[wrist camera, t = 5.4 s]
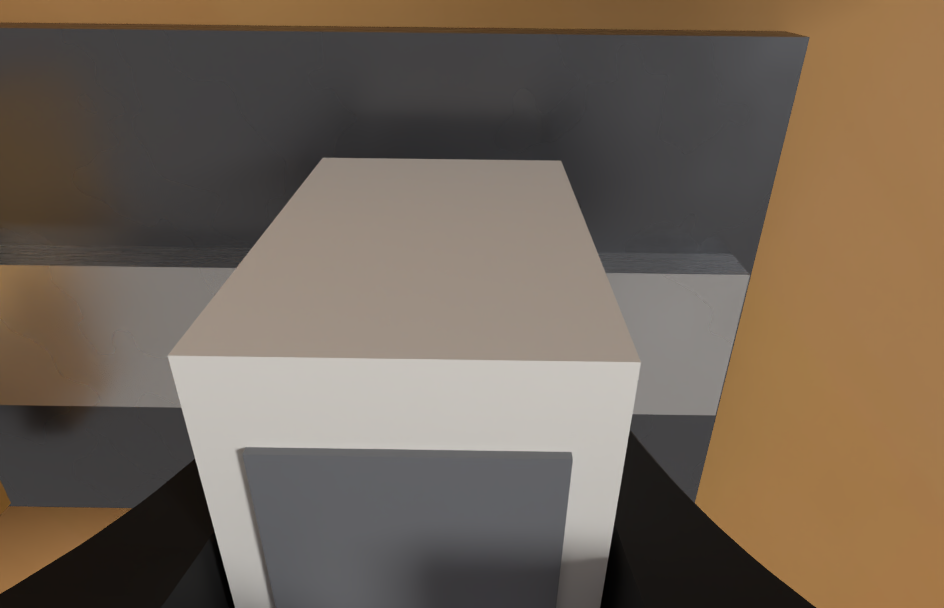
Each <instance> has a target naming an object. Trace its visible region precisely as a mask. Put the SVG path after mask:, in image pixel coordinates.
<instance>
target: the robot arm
mask: <svg viewBox="0 0 944 608" xmlns="http://www.w3.org/2000/svg"><path fill="white" fill-rule="evenodd" d="M0 608H235V606H234V602H233V598H232V594H231V591H230V587H229V583H228V580H227V576H226V572H225V568H224V565H223V561H222V557H221V553H220V550H219V546H218V542H217V539H216V535H215V531H214V527H213V524H212V520H211V516H210V512H209V509H208V505H207V501H206V497H205V494H204V490H203V486H202V483H201V479H200V475H199V471H198V468H197V464H196V460H195V459H194V460H193V461H191V462H190V463H189V464H188V465H187V466H185V467H184V468H183V469H182V470H181V471H179V472H178V473H177V474H176V475H175V476H173V477H172V478H171V479H170V480H168V481H167V482H166V483H165V484H164V485H162V486H161V487H160V488H159V489H158V490H156V491H155V492H154V493H152V494H151V495H150V496H149V497H147V498H146V499H145V500H143V501H142V502H141V503H139V504H138V505H137V506H135V507H134V508H133V509H131V510H130V511H129V512H127V513H126V514H124V515H123V516H122V517H120V518H119V519H117V520H116V521H114V522H113V523H112V524H110V525H109V526H107V527H106V528H104V529H103V530H102V531H100V532H99V533H97V534H96V535H94V536H93V537H91V538H90V539H88V540H87V541H85V542H84V543H82V544H81V545H79V546H78V547H76V548H75V549H73V550H71V551H70V552H68V553H66V554H65V555H63V556H62V557H60V558H58V559H57V560H55V561H54V562H52V563H50V564H49V565H47V566H45V567H44V568H42V569H41V570H39V571H37V572H36V573H34V574H33V575H31V576H29V577H28V578H26V579H24V580H23V581H21V582H20V583H18V584H16V585H15V586H13V587H11V588H10V589H8V590H6V591H5V592H3V593H1V594H0ZM600 608H816V607H815V606H813V605H812V604H811V603H809V602H808V601H807V600H805V599H804V598H803V597H802V596H800V595H799V594H798V593H796V592H795V591H794V590H793V589H791V588H790V587H789V586H788V585H786V584H785V583H784V582H782V581H781V580H780V579H779V578H777V577H776V576H775V575H773V574H772V573H771V572H770V571H768V570H767V569H766V568H765V567H764V566H762V565H761V564H760V563H759V562H758V561H756V560H755V559H754V558H753V557H752V556H750V555H749V554H748V553H747V552H746V551H745V550H744V549H743V548H741V547H740V546H739V545H738V544H737V543H736V542H735V541H734V540H733V539H731V538H730V537H729V536H728V535H727V534H726V533H725V532H724V531H723V530H722V529H720V528H719V527H718V526H717V525H716V524H715V523H714V522H713V521H712V520H711V519H710V518H709V517H708V516H707V515H706V514H705V513H704V512H703V511H702V510H701V509H700V508H699V507H698V506H697V505H696V504H695V503H694V502H693V501H692V500H691V499H690V498H689V497H688V496H687V495H686V493H685V492H684V491H683V490H682V489H681V488H680V487H679V486H678V485H677V484H676V483H675V482H674V481H673V479H672V478H671V477H670V476H669V475H668V474H667V473H666V472H665V471H664V469H663V468H662V467H661V466H660V465H659V464H658V462H657V461H656V460H655V459H654V458H653V456H652V455H651V454H650V453H649V452H648V451H647V449H646V448H645V447H644V446H643V445H642V443H641V442H640V441H639V440H638V438H637V437H636V436H635V435H634V433H633V432H632V431H631V430H630V431H629V437H628V443H627V449H626V455H625V461H624V467H623V473H622V479H621V485H620V491H619V497H618V503H617V509H616V515H615V521H614V527H613V533H612V539H611V545H610V551H609V557H608V563H607V569H606V575H605V581H604V587H603V593H602V599H601V605H600Z"/></svg>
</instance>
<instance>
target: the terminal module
mask: <svg viewBox="0 0 944 608" xmlns="http://www.w3.org/2000/svg"><path fill="white" fill-rule="evenodd" d="M168 359H169V363H170V367H171V371H172V374H173V378H174V382H175V385H176V389H177V393H178V397H179V400H180V404H181V408H182V412H183V415H184V419H185V423H186V427H187V430H188V434H189V438H190V441H191V445H192V449H193V453H194V456H195V460H196V464H197V468H198V471H199V475H200V479H201V483H202V486H203V490H204V494H205V497H206V501H207V505H208V509H209V512H210V516H211V520H212V524H213V527H214V531H215V535H216V539H217V542H218V546H219V550H220V553H221V557H222V561H223V565H224V568H225V572H226V576H227V580H228V583H229V587H230V591H231V594H232V598H233V602H234V606H235V608H600V605H601V599H602V593H603V587H604V581H605V575H606V569H607V563H608V557H609V551H610V545H611V539H612V533H613V527H614V521H615V515H616V509H617V503H618V497H619V491H620V485H621V479H622V473H623V467H624V461H625V455H626V449H627V443H628V437H629V431H630V425H631V419H632V413H633V407H634V401H635V395H636V389H637V383H638V377H639V371H640V365H641V361H640V359H639V356H638V353H637V351H636V348H635V346H634V343H633V341H632V338H631V336H630V333H629V331H628V328H627V326H626V323H625V321H624V318H623V316H622V313H621V311H620V308H619V306H618V303H617V300H616V298H615V295H614V293H613V290H612V288H611V285H610V283H609V280H608V278H607V275H606V273H605V270H604V268H603V265H602V263H601V260H600V258H599V255H598V253H597V250H596V248H595V245H594V242H593V240H592V237H591V235H590V232H589V230H588V227H587V225H586V222H585V220H584V217H583V215H582V212H581V210H580V207H579V205H578V202H577V200H576V197H575V195H574V192H573V190H572V187H571V184H570V182H569V179H568V177H567V174H566V172H565V169H564V167H563V164H562V162H561V161H551V160H469V159H387V158H322V159H321V161H320V162H319V163H318V164H317V166H316V167H315V168H314V170H313V171H312V172H311V173H310V175H309V176H308V177H307V178H306V180H305V181H304V182H303V184H302V185H301V186H300V187H299V189H298V190H297V191H296V192H295V194H294V195H293V196H292V198H291V199H290V200H289V201H288V203H287V204H286V205H285V207H284V208H283V209H282V210H281V212H280V213H279V214H278V215H277V217H276V218H275V219H274V221H273V222H272V223H271V224H270V226H269V227H268V228H267V229H266V231H265V232H264V233H263V235H262V236H261V237H260V238H259V240H258V241H257V242H256V243H255V245H254V246H253V247H252V249H251V250H250V251H249V252H248V254H247V255H246V256H245V258H244V259H243V260H242V261H241V263H240V264H239V265H238V266H237V268H236V269H235V270H234V272H233V273H232V274H231V275H230V277H229V278H228V279H227V280H226V282H225V283H224V284H223V286H222V287H221V288H220V289H219V291H218V292H217V293H216V294H215V296H214V297H213V298H212V300H211V301H210V302H209V303H208V305H207V306H206V307H205V308H204V310H203V311H202V312H201V314H200V315H199V316H198V317H197V319H196V320H195V321H194V323H193V324H192V325H191V326H190V328H189V329H188V330H187V331H186V333H185V334H184V335H183V337H182V338H181V339H180V340H179V342H178V343H177V344H176V345H175V347H174V348H173V349H172V351H171V352H170V353H169V354H168Z"/></svg>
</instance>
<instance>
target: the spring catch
mask: <svg viewBox="0 0 944 608" xmlns="http://www.w3.org/2000/svg"><path fill="white" fill-rule="evenodd" d="M10 504H11V502H10V500H9V498H8V496H7V494H6V491H5V489H4V487H3V485H2V483H1V481H0V515H1V514H2V513H3V512H4V511H5V509H6V508H7V507H8V506H9V505H10Z"/></svg>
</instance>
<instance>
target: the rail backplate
mask: <svg viewBox="0 0 944 608" xmlns="http://www.w3.org/2000/svg"><path fill="white" fill-rule="evenodd" d="M808 41H809V37H807V36H802V35H798V34H794V33H790V32H783V31H695V30H606V29H517V28H428V27H340V26H251V25H162V24H73V23H0V481H1V483H2V485H3V487H4V489H5V491H6V494H7V496H8V498H9V500H10V502H11V504H10V505H9V506H36V507H100V508H134V507H135V506H137V505H138V504H139V503H141V502H142V501H143V500H145V499H146V498H147V497H149V496H150V495H151V494H152V493H154V492H155V491H156V490H158V489H159V488H160V487H161V486H162V485H164V484H165V483H166V482H167V481H168V480H170V479H171V478H172V477H173V476H175V475H176V474H177V473H178V472H179V471H181V470H182V469H183V468H184V467H185V466H187V465H188V464H189V463H190V462H191V461H193V460H194V459H195V456H194V453H193V449H192V445H191V441H190V438H189V434H188V430H187V427H186V423H185V419H184V415H183V412H182V408H181V404H180V400H179V397H178V393H177V389H176V385H175V382H174V378H173V374H172V371H171V367H170V363H169V359H168V354H169V353H170V352H171V351H172V349H173V348H174V347H175V345H176V344H177V343H178V342H179V340H180V339H181V338H182V337H183V335H184V334H185V333H186V331H187V330H188V329H189V328H190V326H191V325H192V324H193V323H194V321H195V320H196V319H197V317H198V316H199V315H200V314H201V312H202V311H203V310H204V308H205V307H206V306H207V305H208V303H209V302H210V301H211V300H212V298H213V297H214V296H215V294H216V293H217V292H218V291H219V289H220V288H221V287H222V286H223V284H224V283H225V282H226V280H227V279H228V278H229V277H230V275H231V274H232V273H233V272H234V270H235V269H236V268H237V266H238V265H239V264H240V263H241V261H242V260H243V259H244V258H245V256H246V255H247V254H248V252H249V251H250V250H251V249H252V247H253V246H254V245H255V243H256V242H257V241H258V240H259V238H260V237H261V236H262V235H263V233H264V232H265V231H266V229H267V228H268V227H269V226H270V224H271V223H272V222H273V221H274V219H275V218H276V217H277V215H278V214H279V213H280V212H281V210H282V209H283V208H284V207H285V205H286V204H287V203H288V201H289V200H290V199H291V198H292V196H293V195H294V194H295V192H296V191H297V190H298V189H299V187H300V186H301V185H302V184H303V182H304V181H305V180H306V178H307V177H308V176H309V175H310V173H311V172H312V171H313V170H314V168H315V167H316V166H317V164H318V163H319V162H320V161H321V159H322V158H387V159H469V160H551V161H561V162H562V164H563V167H564V169H565V172H566V174H567V177H568V179H569V182H570V184H571V187H572V190H573V192H574V195H575V197H576V200H577V202H578V205H579V207H580V210H581V212H582V215H583V217H584V220H585V222H586V225H587V227H588V230H589V232H590V235H591V237H592V240H593V242H594V245H595V248H596V250H597V253H598V255H599V258H600V260H601V263H602V265H603V268H604V270H605V273H606V275H607V278H608V280H609V283H610V285H611V288H612V290H613V293H614V295H615V298H616V300H617V303H618V306H619V308H620V311H621V313H622V316H623V318H624V321H625V323H626V326H627V328H628V331H629V333H630V336H631V338H632V341H633V343H634V346H635V348H636V351H637V353H638V356H639V359H640V361H641V365H640V371H639V377H638V383H637V389H636V395H635V401H634V407H633V413H632V419H631V425H630V430H631V431H632V432H633V433H634V435H635V436H636V437H637V438H638V440H639V441H640V442H641V443H642V445H643V446H644V447H645V448H646V449H647V451H648V452H649V453H650V454H651V455H652V456H653V458H654V459H655V460H656V461H657V462H658V464H659V465H660V466H661V467H662V468H663V469H664V471H665V472H666V473H667V474H668V475H669V476H670V477H671V478H672V479H673V481H674V482H675V483H676V484H677V485H678V486H679V487H680V488H681V489H682V490H683V491H684V492H685V493H686V495H687V496H688V497H689V498H690V499H691V500H692V501H693V502H694V503H695V499H696V495H697V491H698V487H699V483H700V479H701V475H702V471H703V467H704V463H705V459H706V455H707V451H708V447H709V443H710V438H711V434H712V430H713V426H714V422H715V418H716V414H717V410H718V406H719V402H720V398H721V394H722V390H723V386H724V382H725V378H726V374H727V370H728V366H729V362H730V357H731V353H732V349H733V345H734V341H735V337H736V333H737V329H738V325H739V321H740V317H741V313H742V309H743V305H744V301H745V297H746V293H747V289H748V285H749V280H750V276H751V272H752V268H753V264H754V260H755V256H756V252H757V248H758V244H759V240H760V236H761V232H762V228H763V224H764V220H765V216H766V212H767V208H768V204H769V199H770V195H771V191H772V187H773V183H774V179H775V175H776V171H777V167H778V163H779V159H780V155H781V151H782V147H783V143H784V139H785V135H786V131H787V127H788V123H789V118H790V114H791V110H792V106H793V102H794V98H795V94H796V90H797V86H798V82H799V78H800V74H801V70H802V66H803V62H804V58H805V54H806V50H807V46H808Z"/></svg>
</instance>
